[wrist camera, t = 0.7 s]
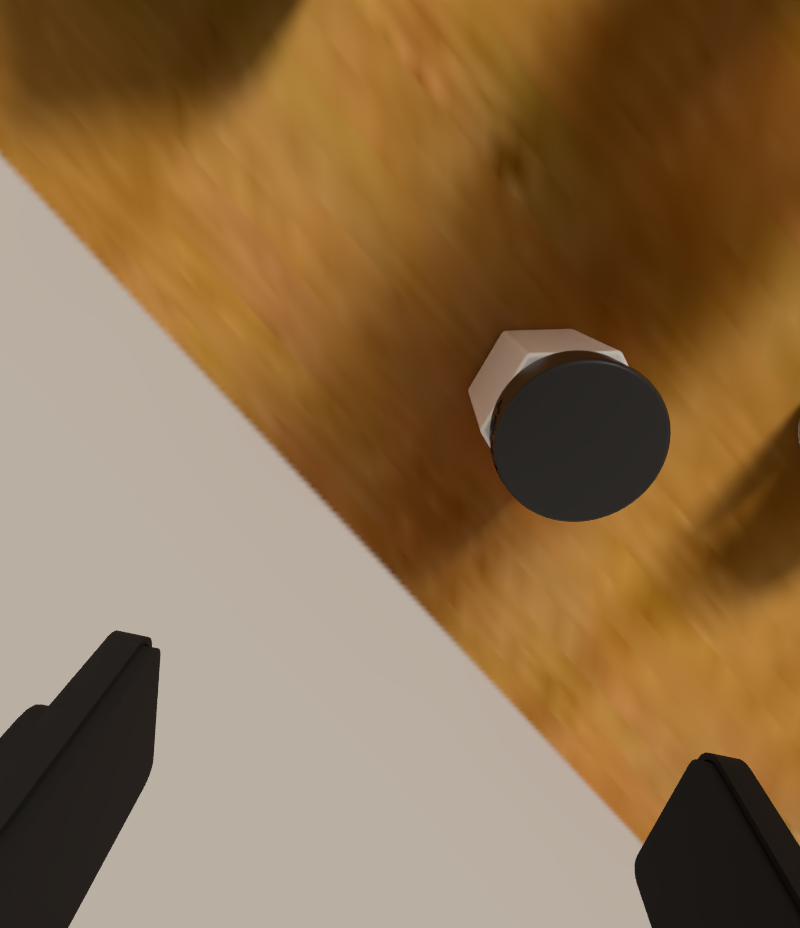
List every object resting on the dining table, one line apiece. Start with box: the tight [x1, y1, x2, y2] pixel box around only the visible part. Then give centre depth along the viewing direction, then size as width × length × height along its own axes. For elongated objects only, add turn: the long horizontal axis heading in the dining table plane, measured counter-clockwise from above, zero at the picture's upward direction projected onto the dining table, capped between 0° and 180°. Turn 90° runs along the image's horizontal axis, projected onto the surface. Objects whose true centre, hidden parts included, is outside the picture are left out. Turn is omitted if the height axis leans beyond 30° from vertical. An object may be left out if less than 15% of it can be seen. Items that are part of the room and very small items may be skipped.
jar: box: [468, 329, 671, 522], centre depth 31 cm, size 9×8×12 cm
